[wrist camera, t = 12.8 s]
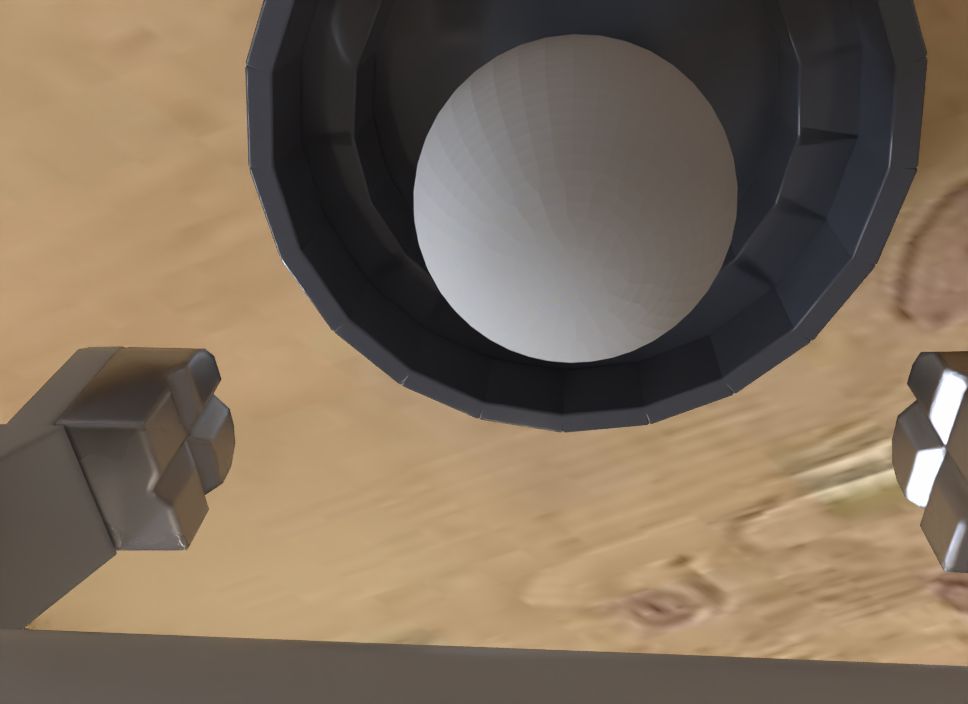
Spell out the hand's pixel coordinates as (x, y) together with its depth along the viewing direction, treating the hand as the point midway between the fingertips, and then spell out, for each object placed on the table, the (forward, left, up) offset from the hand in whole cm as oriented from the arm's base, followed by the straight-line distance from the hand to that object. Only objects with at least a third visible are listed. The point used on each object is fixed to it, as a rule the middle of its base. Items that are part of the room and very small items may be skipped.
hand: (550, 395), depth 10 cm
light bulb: (0, 0, -14) cm, 14 cm away
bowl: (0, 0, -14) cm, 14 cm away
